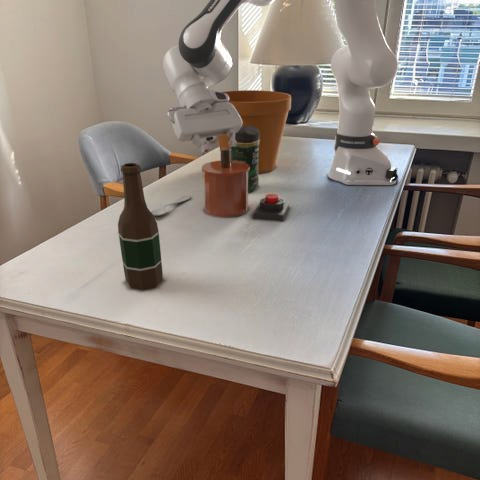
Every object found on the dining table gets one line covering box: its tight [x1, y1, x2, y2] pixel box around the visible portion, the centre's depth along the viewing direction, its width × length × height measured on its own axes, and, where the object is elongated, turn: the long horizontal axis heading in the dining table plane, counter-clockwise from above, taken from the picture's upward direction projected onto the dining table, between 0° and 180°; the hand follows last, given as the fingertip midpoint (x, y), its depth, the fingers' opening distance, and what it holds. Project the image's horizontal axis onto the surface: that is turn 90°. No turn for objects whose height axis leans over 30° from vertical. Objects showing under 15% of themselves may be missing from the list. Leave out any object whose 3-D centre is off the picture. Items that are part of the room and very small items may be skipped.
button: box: [265, 193, 280, 204], centre depth 133 cm, size 4×4×2 cm
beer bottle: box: [117, 162, 164, 291], centre depth 94 cm, size 8×8×24 cm
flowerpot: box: [216, 89, 292, 174], centre depth 169 cm, size 28×28×24 cm
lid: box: [201, 148, 250, 176], centre depth 130 cm, size 13×13×6 cm
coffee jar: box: [231, 126, 260, 193], centre depth 148 cm, size 10×8×19 cm
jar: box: [202, 171, 249, 218], centre depth 134 cm, size 12×12×12 cm
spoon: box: [150, 196, 191, 217], centre depth 138 cm, size 4×21×2 cm, turn 155°
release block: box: [253, 197, 290, 222], centre depth 134 cm, size 11×8×4 cm
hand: (220, 148), depth 130 cm, fingers open, 8 cm apart
